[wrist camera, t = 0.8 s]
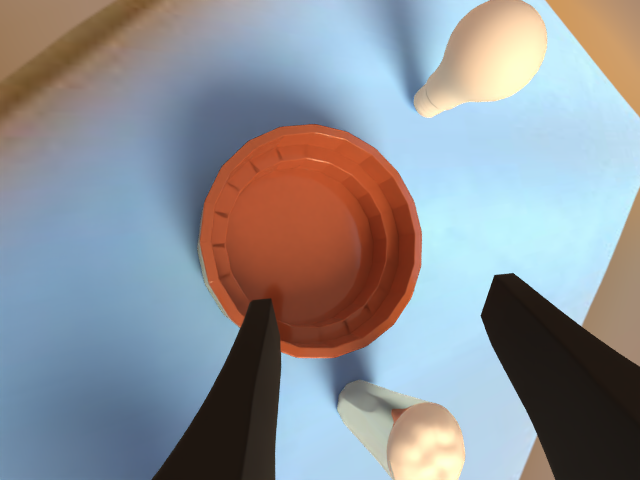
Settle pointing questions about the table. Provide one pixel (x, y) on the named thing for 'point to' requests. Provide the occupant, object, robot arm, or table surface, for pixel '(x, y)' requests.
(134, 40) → the table surface
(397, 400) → the milkshake
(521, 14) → the lightbulb
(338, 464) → the table surface
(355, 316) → the bowl
